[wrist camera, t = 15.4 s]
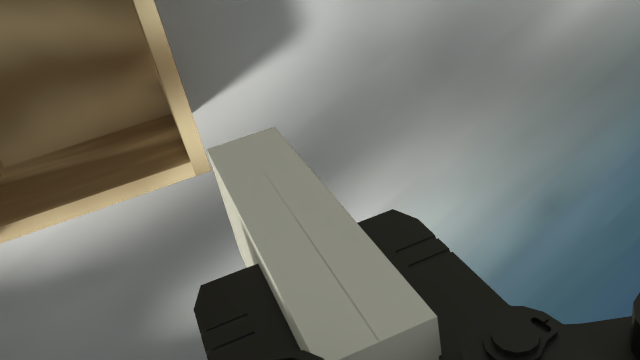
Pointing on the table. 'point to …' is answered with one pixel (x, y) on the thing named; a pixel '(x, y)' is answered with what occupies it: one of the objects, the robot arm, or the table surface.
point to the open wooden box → (87, 110)
